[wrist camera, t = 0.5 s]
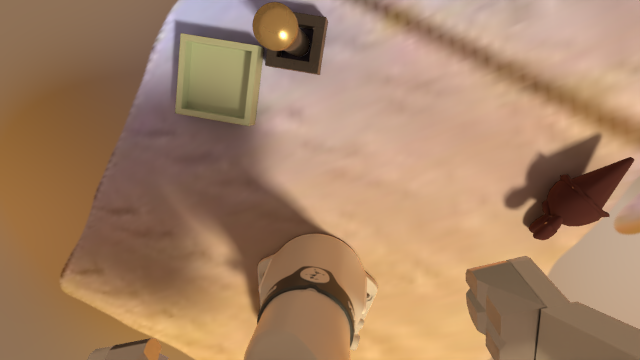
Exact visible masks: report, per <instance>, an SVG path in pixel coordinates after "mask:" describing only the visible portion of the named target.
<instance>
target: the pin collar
mask: <svg viewBox="0 0 640 360" xmlns="http://www.w3.org/2000/svg"><path fill="white" fill-rule="evenodd" d="M293 13H294V15H295V16H296V18H297V21H298V27H300V28H307V29H313V30H314V32H313V39H312V46H311V53H310V59H309V62H306V61H299V60H293V59H287V58H281V53H282V51H273V50H270V49H268V48H267V55H266V63H265V65H266V66H269V67H275V68H281V69H287V70H293V71H299V72H305V73H311V74H317V75H320V70H321V63H322V57H323V50H324V44H325V37H326V31H327V25H328V20H327V18H326V17H321V16H315V15H308V14H302V13H295V12H293Z"/></svg>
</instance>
